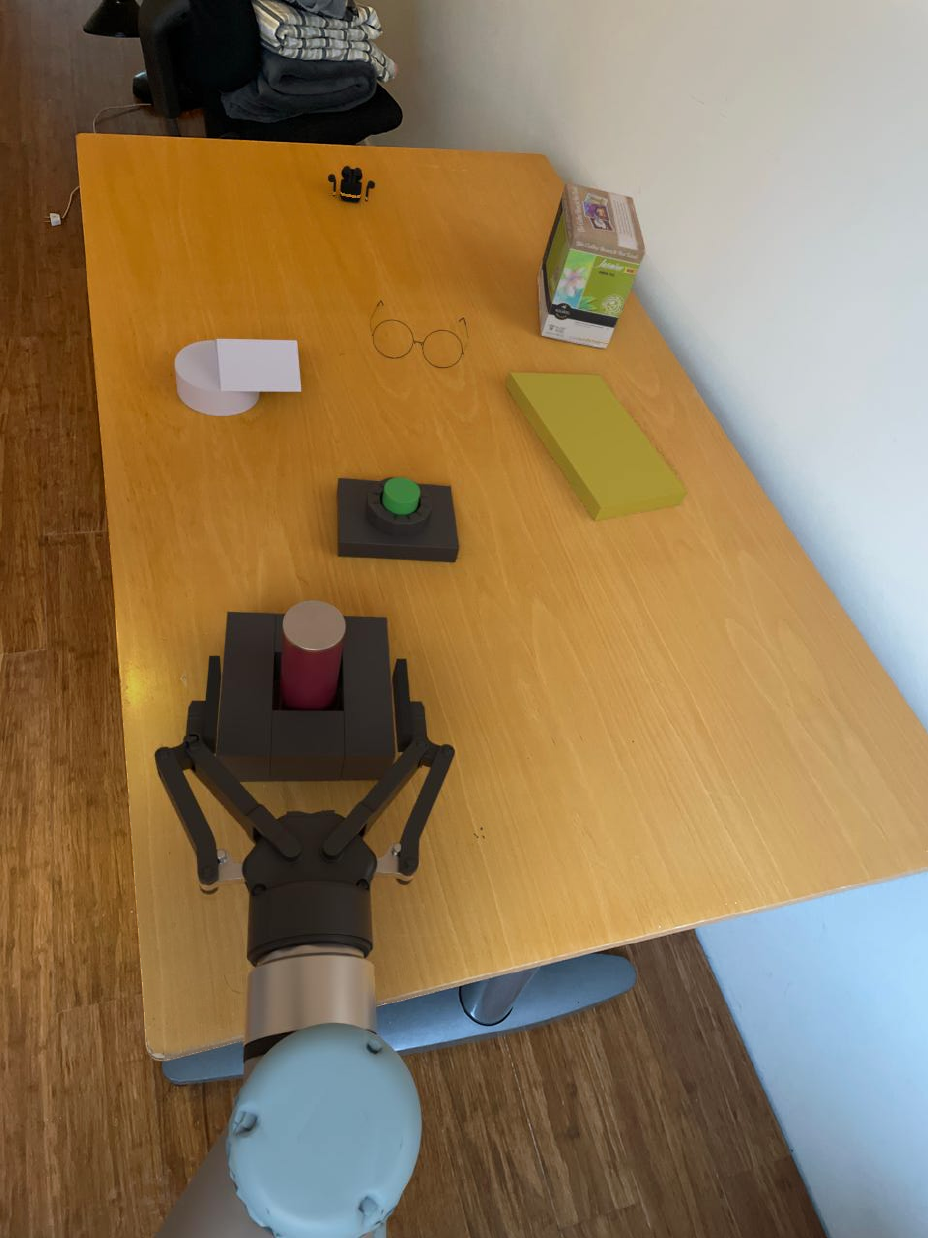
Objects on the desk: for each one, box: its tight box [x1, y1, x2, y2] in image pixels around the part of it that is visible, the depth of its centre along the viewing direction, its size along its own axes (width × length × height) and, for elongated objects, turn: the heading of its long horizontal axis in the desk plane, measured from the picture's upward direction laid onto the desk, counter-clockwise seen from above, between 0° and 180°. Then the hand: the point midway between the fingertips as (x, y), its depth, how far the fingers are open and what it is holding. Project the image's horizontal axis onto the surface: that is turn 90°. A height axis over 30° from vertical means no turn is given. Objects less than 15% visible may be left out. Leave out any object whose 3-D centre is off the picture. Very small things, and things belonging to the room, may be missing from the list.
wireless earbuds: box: [327, 165, 376, 204], centre depth 122 cm, size 7×2×5 cm, turn 95°
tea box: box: [536, 182, 646, 349], centre depth 111 cm, size 15×10×15 cm, turn 179°
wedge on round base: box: [174, 338, 302, 417], centre depth 90 cm, size 9×7×13 cm
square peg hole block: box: [215, 611, 397, 783], centre depth 68 cm, size 14×14×4 cm
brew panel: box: [335, 476, 460, 563], centre depth 83 cm, size 12×9×4 cm
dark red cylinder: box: [278, 599, 346, 711], centre depth 65 cm, size 5×5×12 cm
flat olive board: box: [505, 371, 688, 522], centre depth 99 cm, size 12×2×24 cm
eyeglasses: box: [369, 300, 469, 369], centre depth 104 cm, size 11×13×5 cm
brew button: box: [382, 476, 420, 515], centre depth 81 cm, size 4×4×2 cm
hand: (309, 666), depth 61 cm, fingers open, 13 cm apart
